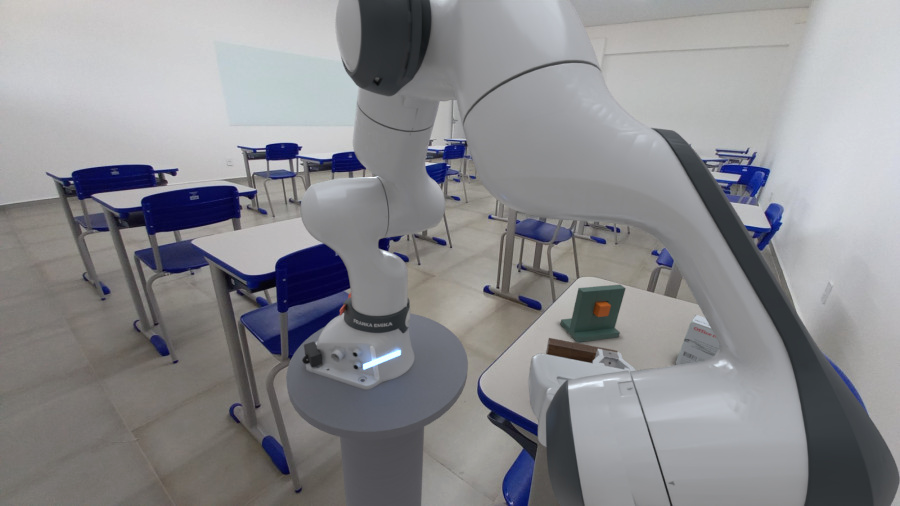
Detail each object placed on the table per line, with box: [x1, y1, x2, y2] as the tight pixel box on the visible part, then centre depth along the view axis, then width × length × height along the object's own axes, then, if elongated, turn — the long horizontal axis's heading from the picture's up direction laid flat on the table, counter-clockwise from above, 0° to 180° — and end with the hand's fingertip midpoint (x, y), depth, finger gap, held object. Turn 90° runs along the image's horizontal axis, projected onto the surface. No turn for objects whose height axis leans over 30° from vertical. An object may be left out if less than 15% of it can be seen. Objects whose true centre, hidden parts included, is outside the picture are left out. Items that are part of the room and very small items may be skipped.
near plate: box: [545, 337, 619, 363], centre depth 67 cm, size 8×12×13 cm, turn 76°
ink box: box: [675, 314, 719, 365], centre depth 77 cm, size 9×5×12 cm, turn 46°
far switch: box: [593, 301, 611, 317], centre depth 87 cm, size 3×3×3 cm
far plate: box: [560, 284, 627, 343], centre depth 89 cm, size 8×12×13 cm, turn 105°
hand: (607, 354), depth 47 cm, fingers closed
